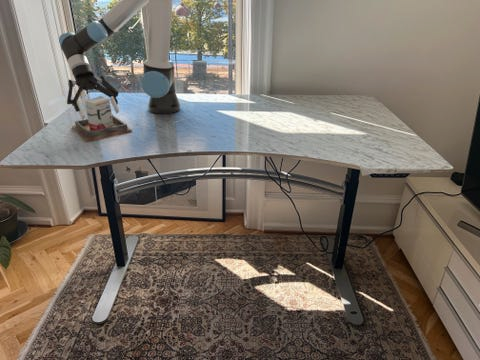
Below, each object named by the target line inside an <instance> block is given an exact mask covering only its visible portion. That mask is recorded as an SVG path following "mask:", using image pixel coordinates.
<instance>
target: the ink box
mask: <svg viewBox="0 0 480 360" xmlns="http://www.w3.org/2000/svg"><path fill="white" fill-rule="evenodd" d="M84 103H85V109H86V114H87V119H88V122H89V127H90V129H91V130H100V129H105V128H108V127H111V126H113V119H112V115H113V114H112V109H111V101H110V97H105V96H101V95H100V96H97V97H93V98H90V99H87V100H85V101H84Z"/></svg>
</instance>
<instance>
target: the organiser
mask: <svg viewBox="0 0 480 360" xmlns="http://www.w3.org/2000/svg"><path fill="white" fill-rule="evenodd" d="M112 119H113V126H111V127H108V128H105V129H100V130H91V129H90V127H89V122H88V118H86V119H85V118H84V119H83V120H82V119H81V120H75V121H74V124H73V125H71V128H72V129H73V130H74V131H75V132H76V133H77V134H79V136H81V138H83V140H85V141H86V142H93V141H97V140H100V139H106V138H110V137H114V136H119V135H123V134H127V133H129V134H130V133H131V132H132V133H133V130H132V128H130V127H128V124H127V123H125V122H124V121H122V119H120V118H118V117H117V116H116V115H114V114H112Z"/></svg>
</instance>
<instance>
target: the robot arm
mask: <svg viewBox="0 0 480 360" xmlns="http://www.w3.org/2000/svg"><path fill="white" fill-rule="evenodd" d="M173 2H174V1H173V0H119V1H118V2H117V3H116V4H114V6H113V7H111V8H110V9H109V11H107V12H106V13H105V14H104V15H103V16H102V17H101V18H99V20H94V21H92V22H90V23H88V24H87V25H86V26H84V27H83V28H82V29H80V30H78V32H76V33H74V32H71V31H67V32H63V33H61V34H60V35H59V37H58V43H59V45H60V49H61V51H62V52H63V54H64V57H65V59H66V62H67V63H68V66H69V68H70V71H71V73H72V75H73V78H74V80H72V79H68V81H67V82H68V83H67V84H68V92H67V99H66V104H67V105H72V106H73V108H74V110H75V112H77V113H78V114H79V116H80V117H81V120H85V118H86V114H85V113H84V110H83V108H82V106H81V103H80V101H78V100H79V99H80V97H81V95H82V93H83V91H93V90H96V91H97V92H100V93H102V94H103V95H105V96H107V98H109V99H110V104H112V107H113V110H114V111H115V113H116V114H118V113H119V112H120V111H119V110H120V109H119V106H118V104H119V102H118V99H117V98H118V96H119V91H118V90H117V89H116V88H115V87H113V85H111V84H110V83H109V82H108V81H107V80H106V79H105V77H104V76H103V75H100V77H96V76H95V74H94V71H93V69H92V67H91V64H90V63H89V59H88V57H87V56H86V53H87V52H88V51H90V50H92V49H93V48H94V47H97V46H98V45H100V44H102V43H105V42H107V41H109V40H110V39H111V38H112V36H113V35H115V33H116V32H118V31H119V30H120V29H121V28H122V27H124V25H126V23H128V22H129V20H131V18H133V17H134V16H136V14H137V13H139V12H140V11H141V9H143V8H144V7H145V6H146V5H147V4H148V3H149V16H148V17H149V18H148V21H149V22H148V45H147V59H146V60H144V61H143V74H142V77H141V79H140V84H141V88H142V90H143V92H144V93H145V94H146V95H147V96H149V100H148V110H149V112H150V113H154V114H159V115H160V114H162V115H166V114H173V113H176V111H177V112H178V110H179V109H180V110H181V104H180V100H179V99H178V96H177V93H176V79H175V78H176V77H175V66H174V65H175V64H174V61H173V60H169V59H170V46H171V33H172V15H173ZM75 85H76V86H78V89H77V91H76V93H75V95H74V97H73V99H72V94H73V89H74V88H73V87H75ZM180 110H179V111H180ZM172 112H173V113H172Z"/></svg>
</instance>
